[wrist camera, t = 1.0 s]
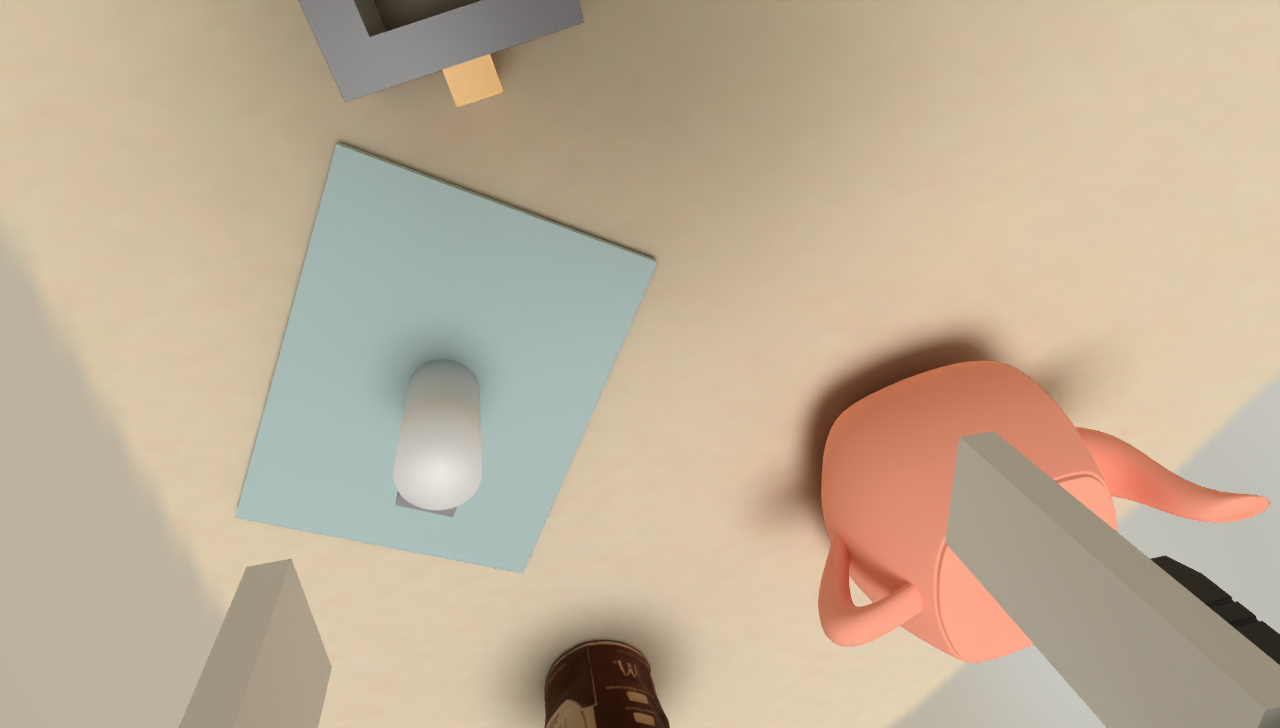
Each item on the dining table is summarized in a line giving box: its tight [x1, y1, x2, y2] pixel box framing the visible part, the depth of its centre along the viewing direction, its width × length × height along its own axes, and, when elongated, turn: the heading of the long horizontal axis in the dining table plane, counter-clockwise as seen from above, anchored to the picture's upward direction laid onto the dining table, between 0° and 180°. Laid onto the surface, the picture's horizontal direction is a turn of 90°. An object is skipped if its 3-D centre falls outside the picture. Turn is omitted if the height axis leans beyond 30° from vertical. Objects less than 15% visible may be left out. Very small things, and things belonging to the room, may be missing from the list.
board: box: [235, 142, 658, 573], centre depth 31 cm, size 18×14×8 cm
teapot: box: [818, 361, 1270, 663], centre depth 36 cm, size 13×20×12 cm, turn 107°
